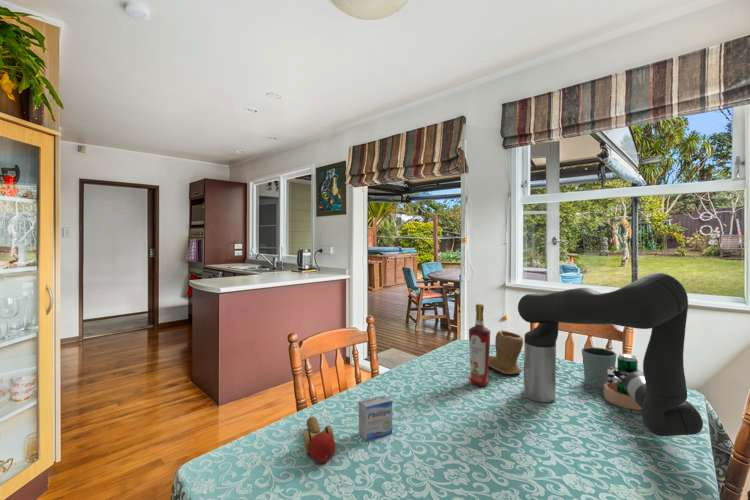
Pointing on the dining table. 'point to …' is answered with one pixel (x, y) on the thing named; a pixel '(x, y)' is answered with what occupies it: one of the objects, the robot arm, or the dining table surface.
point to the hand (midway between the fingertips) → (624, 370)
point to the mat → (606, 400)
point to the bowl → (619, 397)
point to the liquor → (479, 349)
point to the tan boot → (506, 352)
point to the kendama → (319, 441)
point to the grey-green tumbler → (597, 365)
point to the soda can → (626, 368)
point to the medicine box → (375, 417)
